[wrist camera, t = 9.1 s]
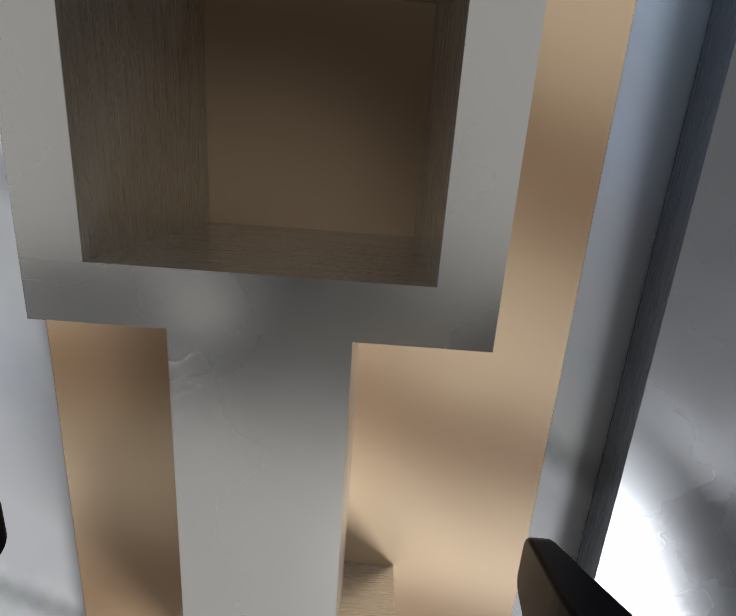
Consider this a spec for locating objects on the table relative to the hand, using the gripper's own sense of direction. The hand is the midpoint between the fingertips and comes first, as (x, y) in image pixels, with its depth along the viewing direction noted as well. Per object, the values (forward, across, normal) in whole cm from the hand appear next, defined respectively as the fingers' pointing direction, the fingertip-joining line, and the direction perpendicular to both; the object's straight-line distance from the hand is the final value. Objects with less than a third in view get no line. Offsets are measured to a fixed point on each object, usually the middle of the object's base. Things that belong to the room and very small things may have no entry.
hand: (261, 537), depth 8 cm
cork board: (+5, 0, 0) cm, 5 cm away
